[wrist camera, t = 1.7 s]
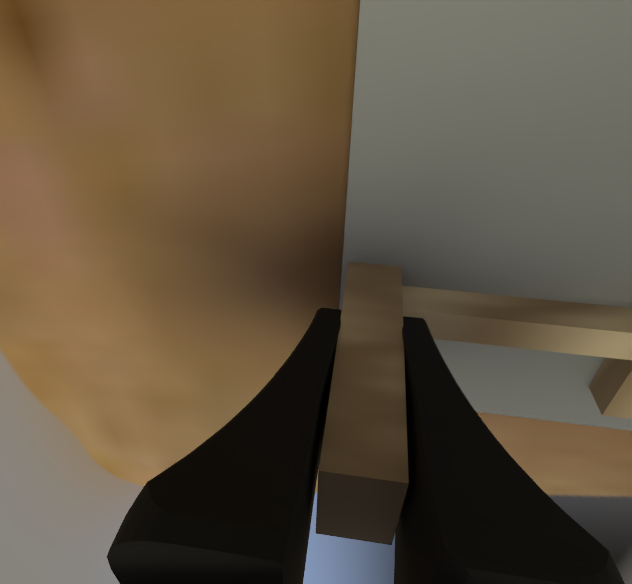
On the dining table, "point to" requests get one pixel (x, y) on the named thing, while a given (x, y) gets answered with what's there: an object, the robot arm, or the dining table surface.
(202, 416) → the dining table surface
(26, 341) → the dining table surface
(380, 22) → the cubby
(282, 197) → the dining table surface
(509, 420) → the dining table surface
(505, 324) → the rake
